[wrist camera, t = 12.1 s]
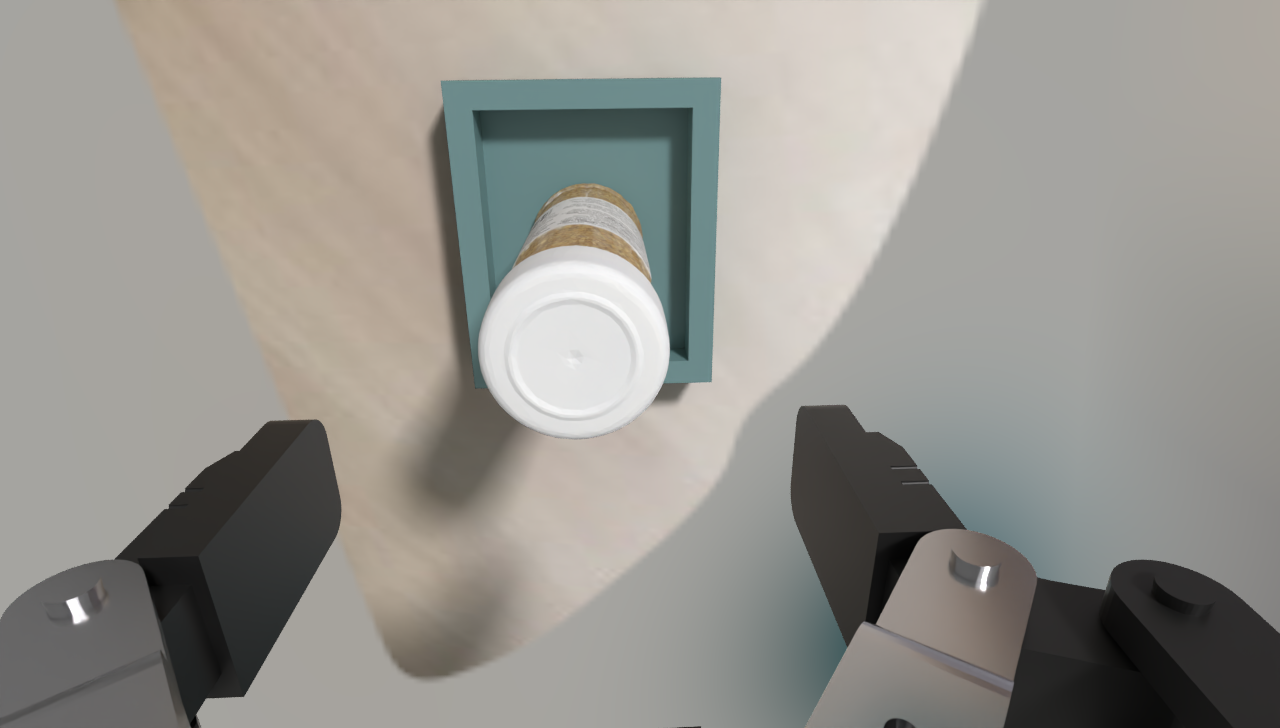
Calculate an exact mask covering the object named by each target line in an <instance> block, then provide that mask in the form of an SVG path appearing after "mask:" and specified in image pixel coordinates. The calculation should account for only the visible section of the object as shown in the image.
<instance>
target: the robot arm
mask: <svg viewBox="0 0 1280 728" xmlns="http://www.w3.org/2000/svg"><path fill="white" fill-rule="evenodd" d="M791 504H792V510H793V515H794V519H795V522H796V525H797V527H798V529H799V532H800V534H801V536H802V539H803V541H804V544H805V546H806V549H807V551H808V554H809V556H810V558H811V561H812V563H813V565H814V568H815V570H816V573H817V575H818V578H819V580H820V582H821V585H822V587H823V590H824V592H825V595H826V597H827V599H828V602H829V604H830V607H831V609H832V611H833V614H834V616H835V619H836V621H837V623H838V626H839V628H840V631H841V633H842V636H843V638H844V640H845V643H846V645H847V650H846V652H845V654H844V656H843V658H842V659H841V661H840V663H839V665H838V667H837V669H836V670H835V673H834V674H833V676H832V678H831V680H830V682H829V683H828V685H827V687H826V689H825V691H824V693H823V695H822V696H821V699H820V700H819V702H818V704H817V706H816V708H815V710H814V711H813V713H812V715H811V717H810V719H809V721H808V723H807V724H806V726H805V728H1280V633H1278V632H1277V631H1276V630H1275V629H1274V628H1273V627H1272V626H1271V625H1269V623H1267V622H1266V621H1265V620H1264V619H1263V618H1262V617H1261V616H1260V615H1259V614H1257V613H1256V612H1255V611H1254V610H1253V609H1252V608H1251V607H1250V606H1249V605H1248V604H1246V603H1245V602H1244V601H1243V600H1242V599H1241V598H1240V597H1238V596H1237V595H1236V594H1235V593H1233V592H1232V591H1230V590H1229V589H1228V588H1226V587H1225V586H1223V585H1222V584H1220V583H1218V582H1216V581H1214V580H1213V579H1211V578H1209V577H1207V576H1204V575H1202V574H1200V573H1198V572H1195V571H1193V570H1190V569H1187V568H1184V567H1181V566H1178V565H1174V564H1170V563H1166V562H1161V561H1153V560H1132V561H1127V562H1123V563H1121V564H1119V565H1117V566H1116V567H1115V568H1114V569H1113V571H1112V573H1111V575H1110V578H1109V581H1108V584H1107V587H1106V590H1101V589H1095V588H1089V587H1084V586H1078V585H1072V584H1067V583H1061V582H1055V581H1050V580H1046V579H1041V578H1038V577H1037V576H1036V572H1035V570H1034V568H1033V566H1032V565H1031V563H1030V562H1029V561H1028V560H1027V558H1025V557H1024V556H1023V555H1022V554H1021V553H1020V552H1018V551H1017V550H1016V549H1015V548H1013V547H1012V546H1010V545H1008V544H1006V543H1005V542H1003V541H1001V540H998V539H996V538H994V537H991V536H989V535H986V534H982V533H978V532H975V531H969V530H967V529H966V528H965V527H964V525H963V524H962V523H961V521H960V520H959V519H958V518H957V516H956V515H955V514H954V512H953V511H952V510H951V509H950V507H949V506H948V505H947V503H946V502H945V501H944V500H943V498H942V497H941V496H940V494H939V493H938V492H937V491H936V489H935V488H934V487H933V486H932V485H929V480H928V479H927V478H926V476H925V475H924V474H923V473H922V471H921V470H920V469H917V465H916V464H915V463H914V461H913V460H912V458H911V457H910V456H909V455H908V453H907V452H906V451H905V449H904V448H903V447H902V446H900V445H898V444H897V443H895V442H894V441H892V440H890V439H889V438H887V437H885V436H884V435H882V434H881V433H879V432H865V430H864V429H863V428H862V426H861V425H860V423H859V422H858V421H857V419H856V418H855V416H854V415H853V414H852V412H851V411H850V409H849V408H848V407H847V406H846V405H822V406H801V407H800V409H799V411H798V415H797V421H796V432H795V443H794V454H793V467H792V477H791ZM340 521H341V499H340V494H339V490H338V485H337V480H336V476H335V471H334V466H333V462H332V457H331V453H330V448H329V443H328V439H327V434H326V431H325V428H324V426H323V424H322V423H321V422H320V421H319V420H284V421H269V422H267V423H266V424H265V425H264V426H263V427H262V428H261V429H260V430H259V431H258V432H257V433H256V434H255V435H254V436H253V437H252V439H250V441H249V442H248V443H247V444H246V445H245V446H244V447H243V448H242V449H241V450H240V451H234V452H233V453H231V454H229V455H227V456H226V457H224V458H222V459H221V460H219V461H217V462H215V463H214V464H212V465H210V466H209V467H207V468H205V469H204V470H203V471H202V472H201V473H200V474H199V475H198V476H197V477H196V478H195V479H194V480H193V481H192V482H191V483H190V484H189V485H188V486H187V487H186V488H185V492H182V493H180V494H179V495H178V496H177V497H176V498H175V499H174V500H173V501H172V502H171V503H170V504H169V509H164V510H163V511H162V512H161V513H160V514H159V515H158V516H157V517H156V518H155V519H154V520H153V521H152V522H151V523H150V524H149V525H148V526H147V527H146V528H145V529H144V530H143V531H142V532H141V533H140V534H139V535H138V536H137V537H136V538H135V540H133V541H132V542H131V543H130V544H129V545H128V546H127V547H126V548H125V549H124V550H123V551H122V552H121V553H120V554H119V555H118V556H117V557H116V558H115V559H114V560H104V561H98V562H92V563H88V564H84V565H81V566H77V567H74V568H71V569H68V570H66V571H63V572H60V573H58V574H56V575H54V576H52V577H50V578H47V579H46V580H44V581H42V582H40V583H38V584H36V585H35V586H33V587H32V588H30V589H29V590H27V591H26V592H24V593H23V594H22V595H21V596H19V597H18V598H17V599H16V600H15V601H14V602H13V603H12V604H11V605H10V606H9V607H8V608H7V609H6V611H5V612H4V614H3V615H2V617H1V619H0V728H201V726H200V723H199V720H198V718H197V715H196V714H197V712H198V710H199V709H200V707H201V706H202V704H203V702H204V701H205V699H206V698H226V697H244V695H245V694H246V692H247V691H248V689H249V687H250V685H251V684H252V682H253V680H254V678H255V677H256V675H257V673H258V671H259V670H260V668H261V666H262V664H263V663H264V661H265V659H266V658H267V656H268V654H269V652H270V651H271V649H272V647H273V645H274V644H275V642H276V640H277V638H278V637H279V635H280V633H281V631H282V630H283V628H284V626H285V625H286V623H287V621H288V619H289V617H290V616H291V614H292V612H293V610H294V609H295V607H296V605H297V604H298V602H299V600H300V598H301V597H302V595H303V593H304V591H305V590H306V588H307V586H308V584H309V583H310V581H311V579H312V578H313V576H314V574H315V572H316V571H317V569H318V567H319V565H320V563H321V562H322V560H323V558H324V557H325V555H326V553H327V551H328V550H329V548H330V546H331V544H332V543H333V541H334V539H335V537H336V535H337V533H338V530H339V526H340ZM679 728H701V727H679Z"/></svg>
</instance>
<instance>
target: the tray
mask: <svg viewBox="0 0 1280 728" xmlns="http://www.w3.org/2000/svg"><path fill="white" fill-rule="evenodd" d="M441 87H442V96H443V105H444V114H445V123H446V132H447V141H448V149H449V158H450V167H451V176H452V185H453V194H454V203H455V212H456V221H457V230H458V239H459V248H460V257H461V266H462V275H463V284H464V293H465V302H466V311H467V319H468V328H469V337H470V346H471V355H472V364H473V373H474V382H475V388H488V387H487V385H486V383H485V381H484V378H483V375H482V372H481V368H480V363H479V358H478V338H479V332H480V328H481V324H482V321H483V318H484V315H485V312H486V310H487V307H488V305H489V303H490V301H491V298H492V296H493V294H494V292H495V291H496V289H497V287H498V286H499V284H500V283H501V281H502V280H503V279H504V277H505V276H506V275H507V274H508V273H509V272H510V271H511V270H512V267H513V265H514V263H515V261H516V259H517V257H518V255H519V253H520V251H521V249H522V247H523V245H524V243H525V241H526V239H527V237H528V235H529V233H530V231H531V229H532V227H533V226H534V223H535V219H536V217H537V214H538V212H539V211H540V210H541V208H542V206H543V205H544V203H545V202H547V201H548V199H549V198H550V197H551V196H552V195H553V194H555V193H556V192H558V191H559V190H561V189H564V188H566V187H568V186H571V185H576V184H583V183H585V184H591V183H595V184H599V185H602V186H605V187H608V188H611V189H612V190H614V191H616V192H617V193H619V194H620V195H621V196H622V197H623V198H624V199H625V200H626V201H628V202H629V203H630V204H631V205H632V207H633V209H634V211H635V213H636V215H637V217H638V219H639V221H640V224H641V229H642V234H643V242H644V246H645V250H646V255H647V259H648V263H649V268H650V272H651V285H652V286H653V288H654V290H655V291H656V293H657V295H658V297H659V299H660V302H661V304H662V307H663V311H664V315H665V319H666V323H667V329H668V335H669V344H670V357H669V365H668V370H667V374H666V377H665V379H664V382H663V383H695V382H711V381H712V349H713V318H714V286H715V254H716V222H717V190H718V159H719V127H720V95H721V78H627V79H542V80H456V81H441Z"/></svg>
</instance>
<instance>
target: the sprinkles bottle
mask: <svg viewBox="0 0 1280 728" xmlns="http://www.w3.org/2000/svg"><path fill="white" fill-rule="evenodd" d="M669 357H670V344H669V335H668V329H667V323H666V319H665V315H664V311H663V307H662V304H661V302H660V299H659V297H658V295H657V293H656V291H655V290H654V288H653V286H652V285H651V272H650V268H649V263H648V259H647V255H646V250H645V246H644V242H643V234H642V229H641V224H640V221H639V219H638V217H637V215H636V213H635V211H634V209H633V207H632V205H631V204H630V203H629V202H628V201H626V200H625V199H624V198H623V197H622V196H621V195H620V194H619V193H617V192H616V191H614V190H612V189H611V188H608V187H605V186H602V185H599V184H595V183H591V184H585V183H583V184H576V185H571V186H568V187H566V188H564V189H561V190H559V191H558V192H556V193H555V194H553V195H552V196H551V197H550V198H549V199H548V201H547V202H545V203H544V205H543V206H542V208H541V210H540V211H539V212H538V214H537V217H536V219H535V223H534V226H533V227H532V229H531V231H530V233H529V235H528V237H527V239H526V241H525V243H524V245H523V247H522V249H521V251H520V253H519V255H518V257H517V259H516V261H515V263H514V265H513V267H512V270H511V271H510V272H509V273H508V274H507V275H506V276H505V277H504V279H503V280H502V281H501V283H500V284H499V286H498V287H497V289H496V291H495V292H494V294H493V296H492V298H491V301H490V303H489V305H488V307H487V310H486V312H485V315H484V318H483V321H482V324H481V328H480V332H479V338H478V358H479V363H480V368H481V372H482V375H483V378H484V381H485V383H486V385H487V387H488V389H489V391H490V392H491V394H492V396H493V397H494V399H495V400H496V401H497V403H498V404H499V405H500V406H501V407H502V408H503V409H504V410H505V411H506V412H507V413H508V414H509V415H510V416H511V417H513V418H514V419H515V420H517V421H518V422H519V423H521V424H523V425H524V426H526V427H528V428H530V429H532V430H534V431H536V432H539V433H541V434H544V435H548V436H552V437H555V438H563V439H587V438H594V437H599V436H602V435H606V434H609V433H612V432H614V431H616V430H619V429H621V428H622V427H624V426H626V425H628V424H629V423H630V422H632V421H634V420H635V419H636V418H637V417H638V416H639V415H641V414H642V413H643V412H644V411H645V410H646V409H647V408H648V407H649V406H650V404H651V403H652V402H653V400H654V399H655V397H656V396H657V394H658V392H659V391H660V389H661V387H662V384H663V382H664V379H665V377H666V374H667V370H668V365H669Z"/></svg>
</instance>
